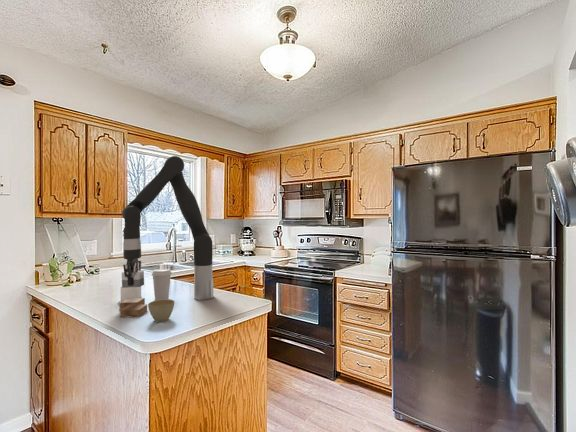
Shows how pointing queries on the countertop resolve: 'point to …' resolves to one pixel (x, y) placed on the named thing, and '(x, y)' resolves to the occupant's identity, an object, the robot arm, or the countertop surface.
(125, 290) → the medicine bottle
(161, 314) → the beige round bowl
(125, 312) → the stand
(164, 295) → the coffee cup
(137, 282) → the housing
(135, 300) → the stand
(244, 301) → the countertop surface
